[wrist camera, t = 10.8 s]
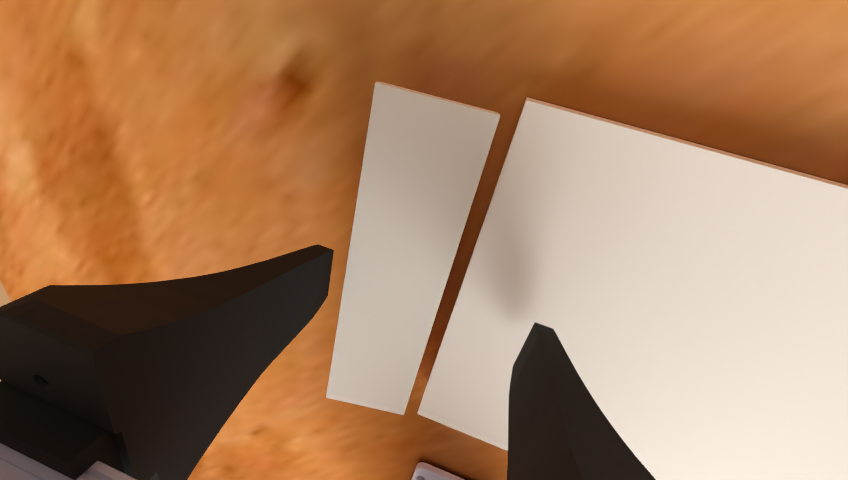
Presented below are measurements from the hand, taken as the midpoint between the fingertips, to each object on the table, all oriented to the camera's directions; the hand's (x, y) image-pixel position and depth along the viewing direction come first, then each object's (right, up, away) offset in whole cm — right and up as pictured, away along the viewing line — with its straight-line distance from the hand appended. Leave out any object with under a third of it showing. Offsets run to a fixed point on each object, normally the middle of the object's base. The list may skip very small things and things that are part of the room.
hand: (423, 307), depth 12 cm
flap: (-1, +1, 0) cm, 1 cm away
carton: (+12, -2, +1) cm, 12 cm away
